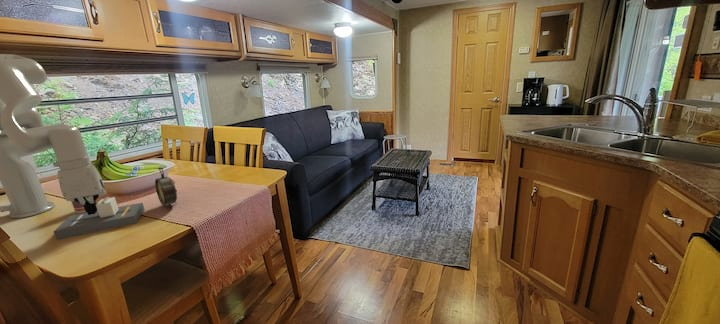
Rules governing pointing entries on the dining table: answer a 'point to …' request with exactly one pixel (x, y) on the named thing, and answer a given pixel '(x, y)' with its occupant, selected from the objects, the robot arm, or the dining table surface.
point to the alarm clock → (166, 190)
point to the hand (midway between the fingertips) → (93, 212)
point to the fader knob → (107, 207)
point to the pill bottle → (78, 206)
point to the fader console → (99, 221)
